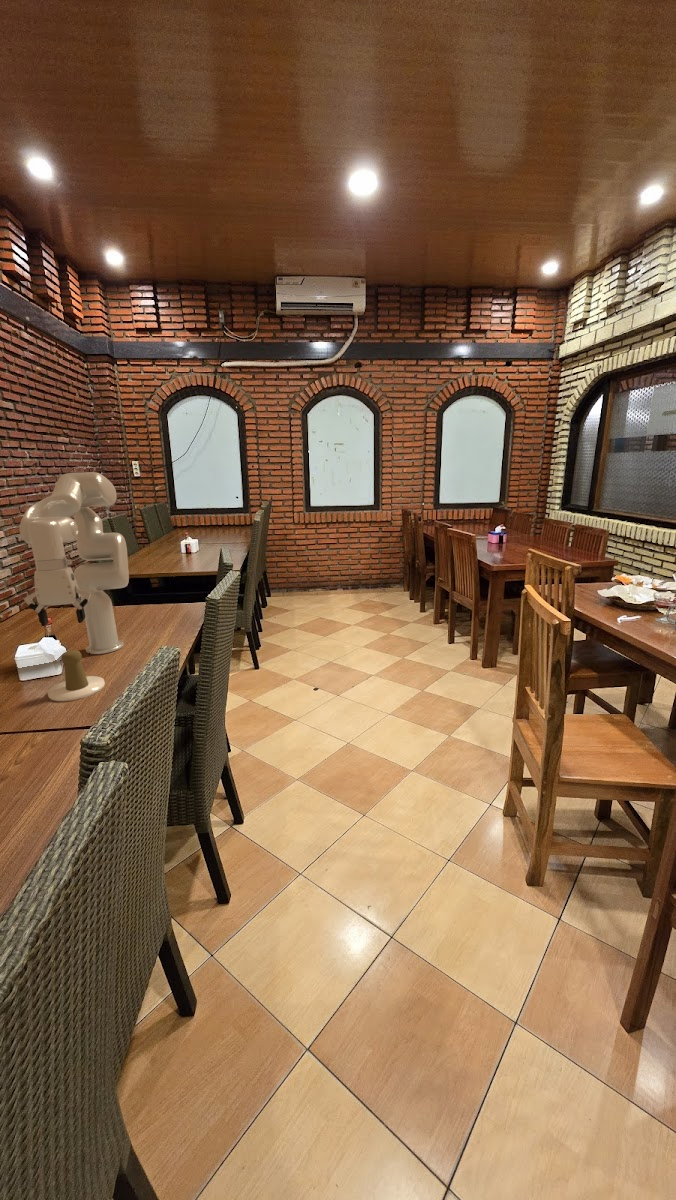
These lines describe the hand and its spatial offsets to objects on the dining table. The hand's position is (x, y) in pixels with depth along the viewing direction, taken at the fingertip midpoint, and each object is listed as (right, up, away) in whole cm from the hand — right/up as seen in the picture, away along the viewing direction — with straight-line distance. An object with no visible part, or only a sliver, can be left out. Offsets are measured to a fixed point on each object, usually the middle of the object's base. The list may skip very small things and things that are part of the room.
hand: (63, 623), depth 138 cm
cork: (+2, -19, +5) cm, 20 cm away
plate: (+1, -20, +5) cm, 21 cm away
